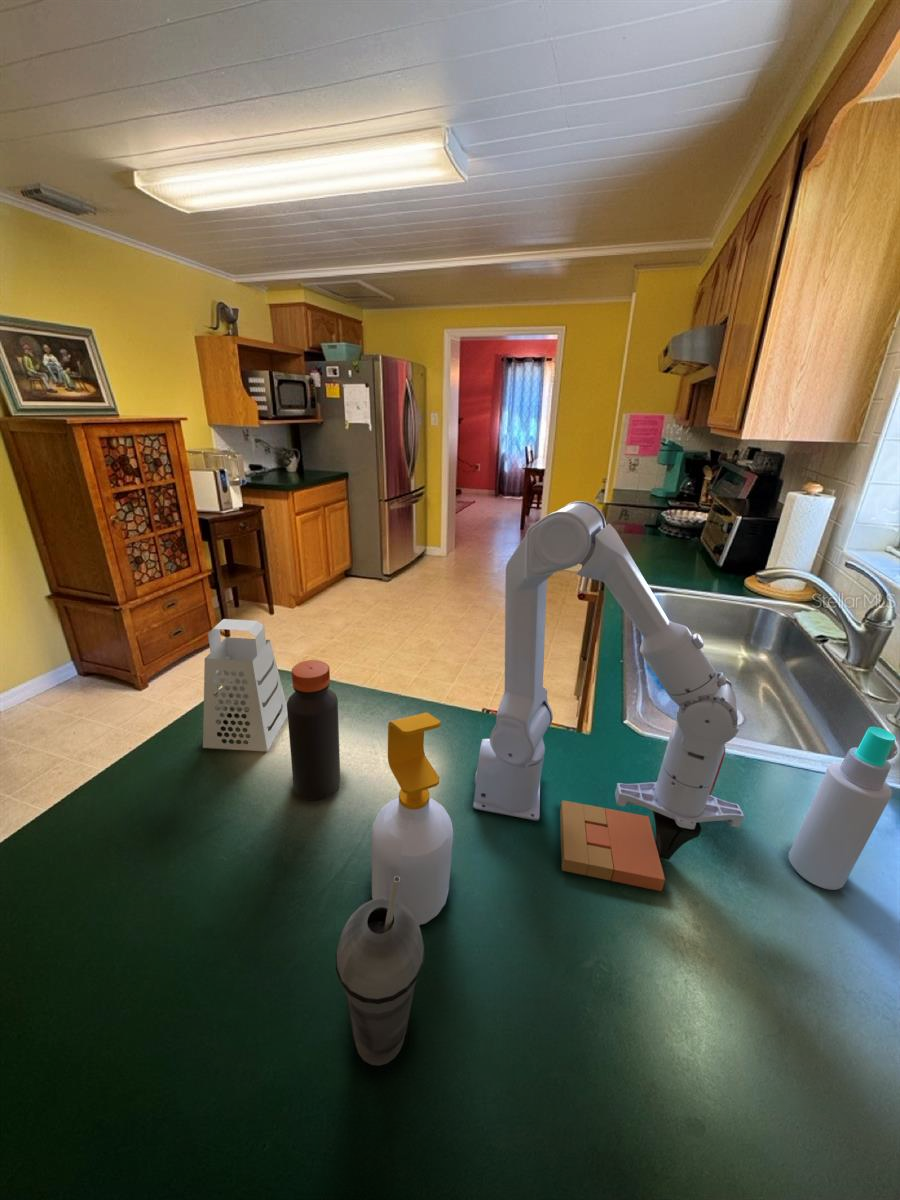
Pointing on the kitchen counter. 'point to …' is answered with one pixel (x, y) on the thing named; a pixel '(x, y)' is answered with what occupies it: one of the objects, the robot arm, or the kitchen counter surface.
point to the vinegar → (313, 731)
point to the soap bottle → (412, 826)
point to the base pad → (583, 841)
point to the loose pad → (629, 848)
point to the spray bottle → (844, 812)
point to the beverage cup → (380, 974)
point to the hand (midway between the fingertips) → (662, 852)
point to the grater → (242, 688)
